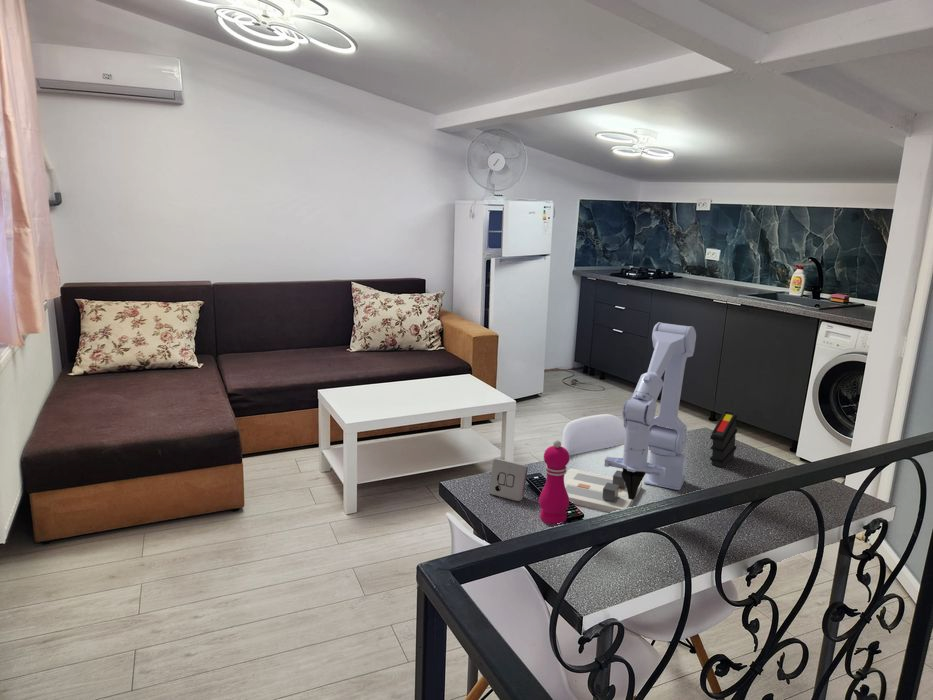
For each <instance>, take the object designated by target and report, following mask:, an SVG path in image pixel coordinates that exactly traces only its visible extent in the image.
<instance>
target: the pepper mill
mask: <svg viewBox="0 0 933 700" xmlns="http://www.w3.org/2000/svg"><path fill="white" fill-rule="evenodd" d="M552 444H553V445H551V446H549V447H547V448H546V450H545V451H544V452H543V460H544V463H545V465H544V466H545V468H544V469H545V470H544V472H545V473H546V480H545V484H544V486H543V488H542V490H541V491H540V495H539V498H538V504H539V506H540V508H541V510H540V513H539V514H540V516H539V517H540V520H541V521H542V522H543V523H545V524H548V525H553V524H557V523H560V522H564V521H565V522H566V521H567V517H568V516H567V510H568V509H569V507H570V503H569V497H568V494H567V491H566V488H565V485H564V474H566V472H567V469H568V468H567V465H568V464H569V462H570V453H569V451H568V450H567V449H566V448H565V447H564V446H562V443H561V441H560V440H554V442H553V443H552ZM565 522H564V523H565ZM561 524H563V523H560V524H559V525H561ZM557 525H558V524H557Z"/></svg>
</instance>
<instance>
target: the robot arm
mask: <svg viewBox="0 0 933 700" xmlns="http://www.w3.org/2000/svg"><path fill="white" fill-rule="evenodd" d="M651 340H652V347H653V352H652V356H651V359H650V362H649V366H648V368H647V372H645V373H642V374H641V375H640V377H639V379H638V382H637V384H636V387H635V389H634V391H633V393H632V396H631V397H630V399H629V398H628V399H626V400H625V402H624V406H623V408H622V409H623V410H622V419H623V428H625V432H624V444H623V446H624V447H623V457H614V456H613V457H611V456H606V457H605V459H604V467H607V468H609V467H611V468H612V467H613V468H616V469H622V470H621V471H622V478H623V479H624V482H625V484H626V487H627V492H628V499H632V500H634V499H636V498H637V496H636V493H637V490H638V487H639V485H640V483H642V481H643V479H644V478H645V476H646V474H648V475H647V476H646V478H645V480H644V484H647V485H651V486H657V487H661V488H666V489H670V490H671V489H672V490H676V491H680V490H681V489H682V487H683V485H684V483H685V478H686V466H687V454H683V452H684V450H685V449H686V444H687V438H688V437H687V430H688V429H687V425H686V424H685V423H684V422H683V421H682V420H681V419H680V418H679V415H678V414H679V410H680V409H679V408H680V400H681V395H682V387H683V382H684V381H683V380H684V374H685V368H686V362H687V359H688V358H691V357H693V356H694V353H695V349H696V348H695V347H696V340H697V332H696V329H695V327H694V326H693V325H691V326H689V325H682V324H681V325H680V324H674V323H673V324H671V323H665V322H660V321H659V322H657V323H656V324H655V325H654V326H653V329H652V333H651ZM663 375H664V377H663ZM662 377H663V379H662ZM661 391H662V392H661ZM660 394H661V397H660V405H659V411H658V415H656V410H657V405H658V404H657V401H658V398H659V395H660ZM649 451H650V455H649ZM648 455H649V462H648ZM635 497H636V498H635ZM634 501H635V500H634Z"/></svg>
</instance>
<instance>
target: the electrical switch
mask: <svg viewBox="0 0 933 700" xmlns="http://www.w3.org/2000/svg"><path fill="white" fill-rule="evenodd" d="M528 469H529V467H528V466H527V465H525V464H523V463H522V464H521V463H518V462H513V461H510V460H509V461H508V460H504V459H501V458H495V459H493V460H492V466H491V473H490V477H489V484H488V494H489V495H493V496H497V497H500V498H504V499H509V500H512V501H516V502H521V501H522V500H523V497H524V496H525V489H526V482H527V476H528ZM522 496H523V497H522Z"/></svg>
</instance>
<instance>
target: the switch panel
mask: <svg viewBox="0 0 933 700" xmlns="http://www.w3.org/2000/svg"><path fill="white" fill-rule="evenodd" d="M607 483H612V484H613V476H610V475H606V474H599V473H596V472H590V471H586V470H581V469H575V468H572V467H570V468H568V470H566V474H564V485H565V488H566V491H567V494H568V497H569V500H570V501H571V502H573V503H574V504H573V505H577V506H582V507H586V508H590V509H594V510H599V511H603V512H607V513H611V512H612V511H616V510H621V509H625V508H628V507H630V508H631V507H632V505H633V503H634V502H635V499H636V498H637V497H638V495H639V492H640V491H641V490H642V486H643V483H642V482H641V483H640V485H639V487H638V490H637V493H636V497H635V499H634V500H632V499H628V492H627V487H626V485H625V487H624V488H622V487H619V492H618V496H617V498H616V499H615V501H610V500H606V499H602V497H603V488H604V487H605V485H606V484H607Z"/></svg>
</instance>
